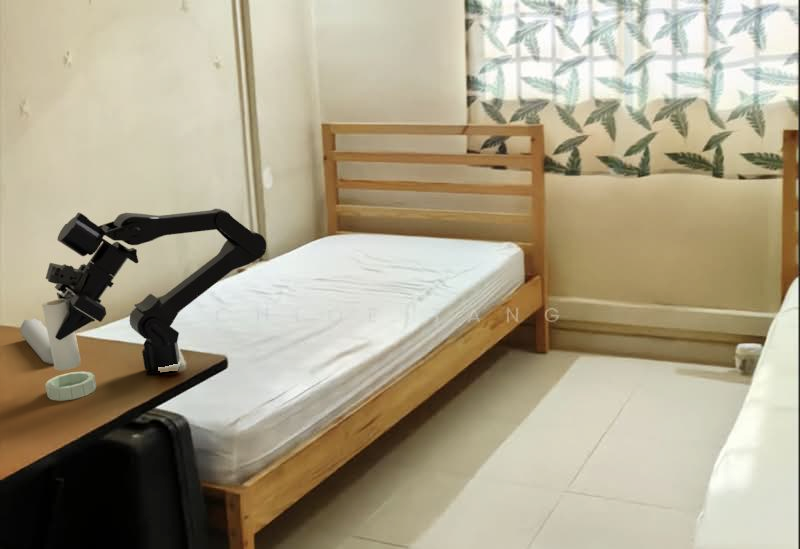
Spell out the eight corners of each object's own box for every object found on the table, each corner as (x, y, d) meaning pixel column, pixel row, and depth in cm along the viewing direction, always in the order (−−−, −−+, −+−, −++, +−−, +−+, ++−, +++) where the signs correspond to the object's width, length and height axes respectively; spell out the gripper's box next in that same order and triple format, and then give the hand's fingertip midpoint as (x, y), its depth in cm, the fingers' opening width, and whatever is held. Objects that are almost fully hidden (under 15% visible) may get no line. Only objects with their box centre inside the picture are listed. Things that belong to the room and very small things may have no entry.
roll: (86, 361, 195) (74, 298, 192) (70, 370, 190) (58, 305, 187) (65, 360, 197) (52, 297, 193) (49, 369, 192) (36, 305, 189)
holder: (99, 381, 200) (97, 369, 199) (90, 397, 191) (87, 385, 190) (54, 386, 199) (52, 374, 198) (42, 402, 190) (40, 390, 190)
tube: (70, 344, 213) (45, 319, 234) (44, 343, 210) (21, 317, 231) (66, 368, 213) (41, 340, 234) (40, 367, 210) (18, 339, 231)
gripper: (57, 239, 197) (10, 304, 195) (77, 254, 181) (26, 325, 179) (103, 269, 203) (58, 332, 201) (127, 286, 187) (78, 355, 185)
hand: (54, 335), depth 191 cm, fingers closed on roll, 5 cm apart
